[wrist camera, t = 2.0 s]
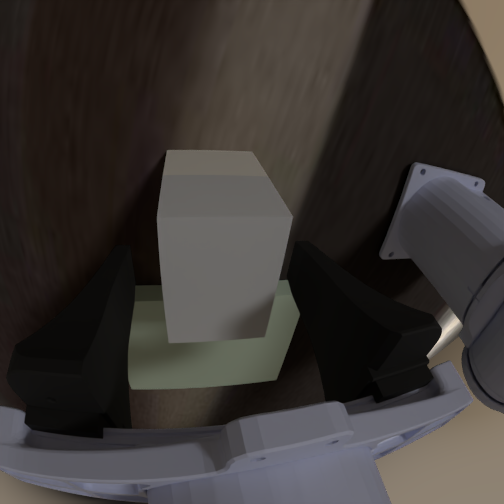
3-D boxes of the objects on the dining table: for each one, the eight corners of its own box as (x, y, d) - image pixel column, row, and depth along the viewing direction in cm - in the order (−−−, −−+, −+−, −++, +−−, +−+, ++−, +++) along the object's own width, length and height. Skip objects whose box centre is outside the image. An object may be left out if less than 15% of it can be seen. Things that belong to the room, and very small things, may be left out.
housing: (252, 151, 16) (292, 216, 10) (239, 249, 20) (264, 337, 14) (167, 149, 15) (156, 217, 9) (168, 251, 19) (168, 343, 13)
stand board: (300, 279, 22) (306, 293, 21) (272, 367, 29) (276, 379, 28) (103, 285, 19) (100, 301, 18) (132, 376, 26) (131, 389, 25)
